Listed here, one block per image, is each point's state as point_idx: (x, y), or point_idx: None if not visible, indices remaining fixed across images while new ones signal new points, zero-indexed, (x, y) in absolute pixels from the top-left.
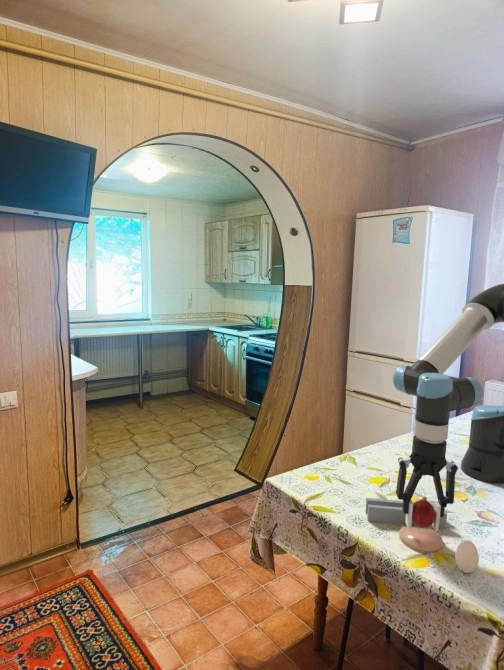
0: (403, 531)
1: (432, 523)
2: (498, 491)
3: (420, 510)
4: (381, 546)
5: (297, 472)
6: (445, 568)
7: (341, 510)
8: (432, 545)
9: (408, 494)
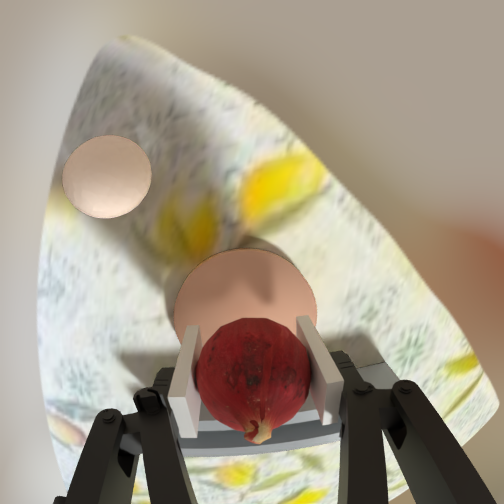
0: None
1: None
2: (64, 483)
3: (282, 360)
4: (379, 246)
5: None
6: (189, 174)
7: (431, 378)
8: (214, 276)
9: (375, 414)
